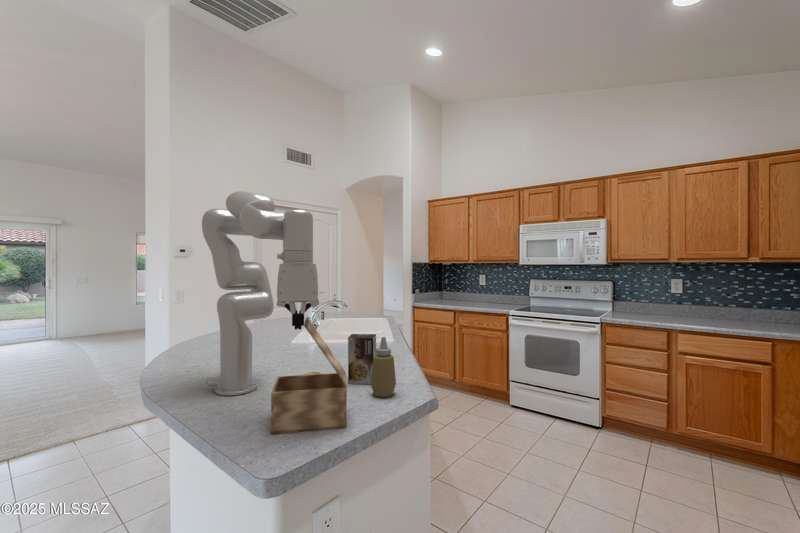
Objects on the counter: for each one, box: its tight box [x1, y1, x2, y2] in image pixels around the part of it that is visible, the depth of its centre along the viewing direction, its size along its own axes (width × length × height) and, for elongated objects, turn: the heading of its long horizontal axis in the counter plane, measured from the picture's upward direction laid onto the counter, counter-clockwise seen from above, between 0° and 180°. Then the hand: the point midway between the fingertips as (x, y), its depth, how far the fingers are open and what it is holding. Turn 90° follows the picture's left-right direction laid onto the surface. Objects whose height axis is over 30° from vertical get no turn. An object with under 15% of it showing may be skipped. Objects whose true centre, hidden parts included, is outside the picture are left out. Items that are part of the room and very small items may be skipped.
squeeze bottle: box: [370, 336, 397, 398], centre depth 115 cm, size 8×8×18 cm
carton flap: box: [304, 316, 349, 388], centre depth 97 cm, size 19×13×1 cm
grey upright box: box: [347, 333, 377, 385], centre depth 128 cm, size 9×6×16 cm
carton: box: [270, 372, 348, 435], centre depth 97 cm, size 18×13×10 cm
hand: (298, 328), depth 96 cm, fingers closed
